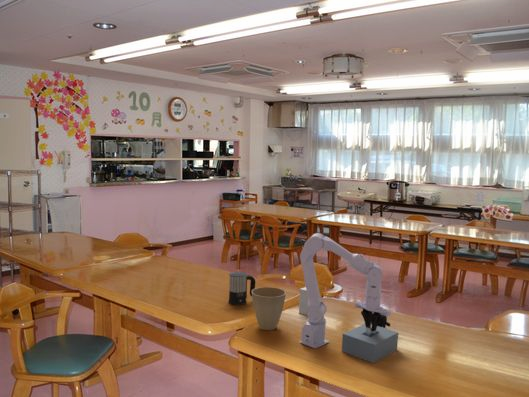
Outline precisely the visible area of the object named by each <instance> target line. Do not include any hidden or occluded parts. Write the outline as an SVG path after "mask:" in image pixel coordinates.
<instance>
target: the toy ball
mask: <svg viewBox="0 0 529 397" xmlns="http://www.w3.org/2000/svg"><path fill="white" fill-rule="evenodd" d="M373 313H374V312H373ZM373 313H372V314H373ZM371 324H372V318H371ZM377 326H379V327H382V328H386V326H387V327H390V326H391V323H390V322H389V321H388V317H386V316H385V315H383V316H382V317H381V319H380V320H379V323H378V325H377Z"/></svg>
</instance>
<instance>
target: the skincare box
mask: <svg viewBox="0 0 529 397" xmlns="http://www.w3.org/2000/svg"><path fill="white" fill-rule="evenodd" d="M298 313H299V314H302V315H304V316H307V314H308V295H307V290H306V286H304V287H300V288H299V302H298Z"/></svg>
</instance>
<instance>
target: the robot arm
mask: <svg viewBox="0 0 529 397" xmlns="http://www.w3.org/2000/svg"><path fill="white" fill-rule="evenodd" d="M321 250H322V252H332V253H334V254H335V255H337V256H339V257H340V258H343V260H346V261H347V262H348V263H349V267H352V268H353V269H354V270H356V271H357V272H359V273H361V274H362V275H364V276H366V279H367V280H366V283H365V301H364V302H359V301H356V302H355V303H354V308H356V309H358V308H359V309H361V310H362V311H361V312H360V314H361V316H362V319H363V321H364V324H365V325H366V327H368V326H370V325H371V318H372V331H376V328H377V325H378V323H379V320H380V319H381V317H382V316H383V315H385V316H386V317H387V318H389V317H391V310H388V309H386V308H383V307H382V306H381V298H382V297H381V296H382V278H383V269H382V267H381V266H380V264H378V263H375V262H374V261H370V260H369V259H367V258H366V257H364V254H362V253H360V254H359V253H352V252H350V251H349V250H347V249H346V248H345V247H343V246H342V245H340V244H339V243H337V242H336V241H335V240H333V239H332V238H330V237H328V236H327V235H324V234H323V233H322V232H321V233H320V232H316V233H313V234H312V235H311V236H310V237H308V238H307V240H306V241H305V242H304V245H303V247H302V249H301V253H300V254H299V260H300V263H301V270H302V274H303V280H304V283H305V284H304V285H305V287H306V290H307V295H308V314H307V315H306V316H307V321H306V323H305V324H303V326H302V328H301V340H300V341H299V344H303V345H305V346H308V347H310V348H312V349H317V348H319V347H322V346H324V345H326V344H328V343H330V340H327V339H326V338H325V337H326V322H327V320H326V318H325V314H326V313H327V306H326V305H325V303H324V302H323V298H322V296H321V293H320V288H319V284H318V279H317V274H316V273H317V272H316V269H315V264H314V263H315V262H314V256H316V254H317V253H318V252H320V251H321ZM373 312H374V313H373ZM372 313H373V314H372Z"/></svg>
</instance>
